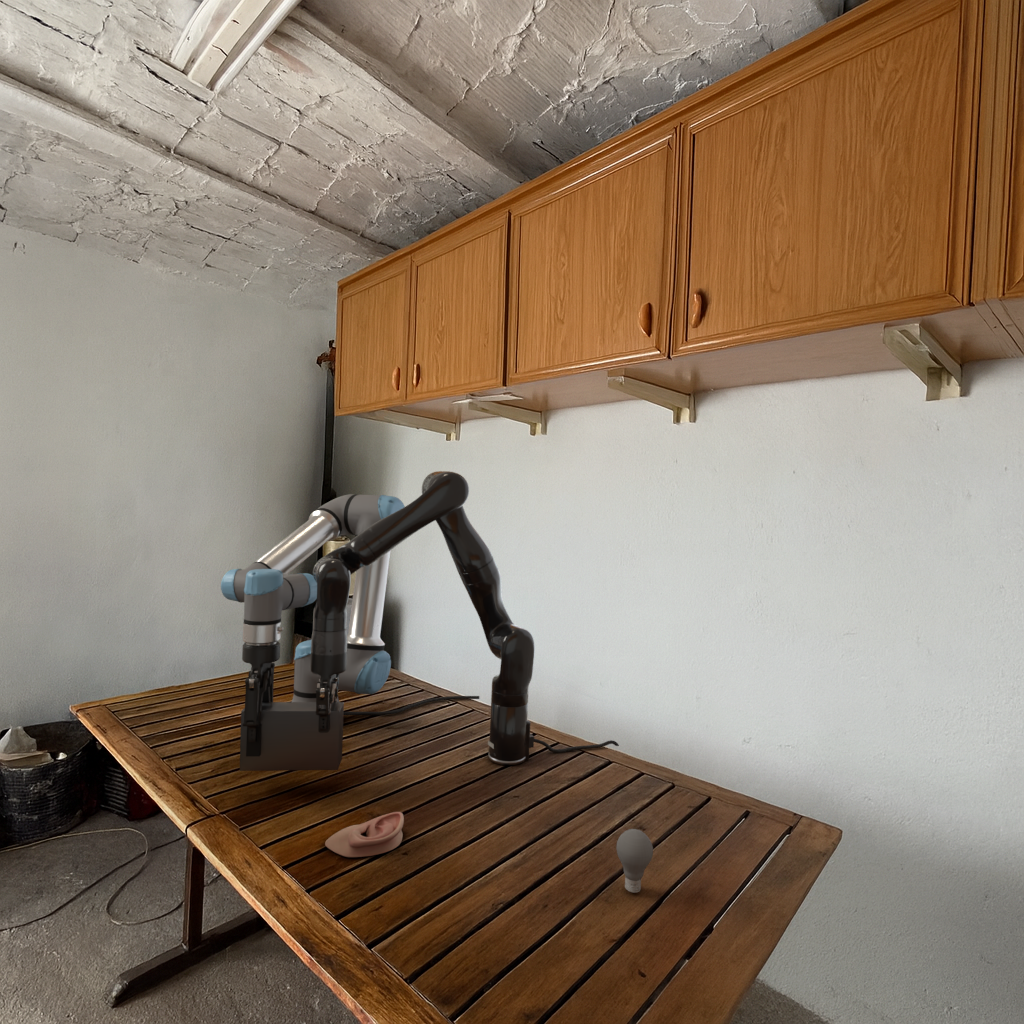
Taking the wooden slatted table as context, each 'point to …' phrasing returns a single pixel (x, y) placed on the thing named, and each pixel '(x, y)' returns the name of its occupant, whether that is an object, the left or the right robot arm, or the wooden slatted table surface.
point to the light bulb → (634, 857)
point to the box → (294, 738)
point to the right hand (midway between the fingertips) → (326, 726)
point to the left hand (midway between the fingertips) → (257, 749)
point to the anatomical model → (368, 837)
